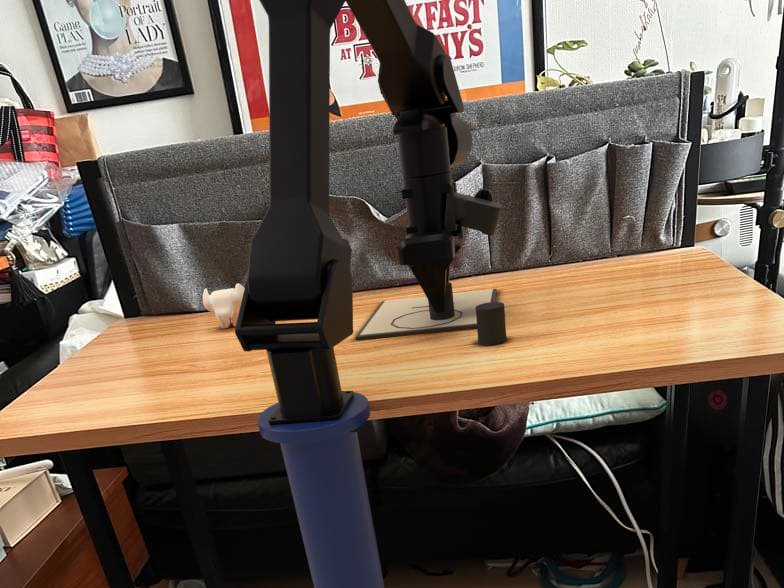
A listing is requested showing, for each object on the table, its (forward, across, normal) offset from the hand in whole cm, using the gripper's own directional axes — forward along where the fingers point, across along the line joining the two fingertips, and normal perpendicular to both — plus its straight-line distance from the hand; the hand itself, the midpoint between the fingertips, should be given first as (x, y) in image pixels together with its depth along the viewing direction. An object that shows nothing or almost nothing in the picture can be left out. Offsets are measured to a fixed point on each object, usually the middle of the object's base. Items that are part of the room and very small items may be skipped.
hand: (441, 309), depth 93 cm
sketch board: (+2, +4, +2) cm, 5 cm away
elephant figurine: (+2, +10, +33) cm, 35 cm away
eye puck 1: (+1, 0, 0) cm, 1 cm away
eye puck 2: (+2, -12, -7) cm, 14 cm away
